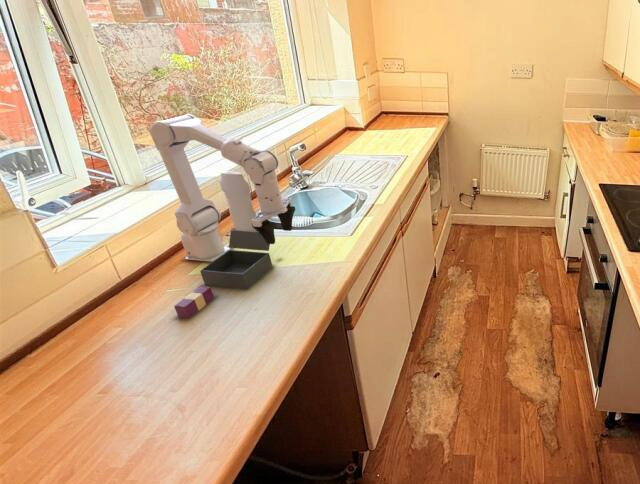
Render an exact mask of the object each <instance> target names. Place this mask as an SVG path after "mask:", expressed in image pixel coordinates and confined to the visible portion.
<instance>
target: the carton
mask: <svg viewBox="0 0 640 484" xmlns="http://www.w3.org/2000/svg"><path fill="white" fill-rule="evenodd" d="M273 267H274V266H273V262H272V259H271V255H270V252H264V251H263V252H262V251H250V250H249V251H248V250H239V249H238V250H235V249H230V250H229V251H227V252H226V253H224V254H223V255H221V256H220V257H219V258H217V259H216V260H214V261H213V262H209V264H207V265H206V266H204V267H203V268H201V269H200V270H199V272H200V275H201V277H202V281H203V283H204V286H209V287H222V288H232V289H233V288H234V289H243V290H244V289H245V290H248V289H249V288H250V287H252V286H253V285H254V284H255V283H256V282H258V280H260V278H262V277H263V276H264V275H265V274H267V272H269V271H270V270H271V269H272V268H273Z"/></svg>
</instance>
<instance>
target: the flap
mask: <svg viewBox="0 0 640 484" xmlns="http://www.w3.org/2000/svg"><path fill="white" fill-rule="evenodd" d="M270 245H271V244H267V243H266V241H265V239H264V238H263V237H262V235H261V234H260V233H259V232H258V231H257V232H248V231H239V230H235V229H231V230H230V235H229V243H228V247H229V248H231V249H238V250H239V249H240V250H249V251H250V250H252V251H261V252H262V251H263V252H270Z"/></svg>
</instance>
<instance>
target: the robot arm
mask: <svg viewBox="0 0 640 484" xmlns="http://www.w3.org/2000/svg"><path fill="white" fill-rule="evenodd" d="M148 132H149V135H150V137H151V138H152V142H153V143H154V145H155V148H156V150H157V151H158V152H159V155H160V156H161V159H162V162H163V164H164V166H165V169H166V171H167V173H168V176H169V178H170V180H171V182H172V185H173V187H174V189H175V192H176V194H177V197H178V199H179V201H180V205H179V206H177V209H176V210H175V212H174V215H175V218H176V227H177V228H178V230H179V231H180V233H182V234H181V237H180V238H181V239H180V240H181V241H180V242H181V244H182V247H183V249H184V252H185V254H186V257H184V259H185V260H187V261H199V262H200V261H201V262H209V263H211V262H213V261H214V260H216V259H217V258H219V257H220V256H221V255H223V254H224V253H226V252H227V251H229V250H232V248H229V246H225V245H224V243H223V240H222V237H221V234H220V230H219V228H218V226H219V225H220V224H219V222H220V221H221V218H222V216H221V212H220V211H219V210H220V209H218V208H217V207H216V205H215V203H214V201H213V200H211V199H209V198H208V199H207V198H204V197H203V193H202V190H201V188H200V186H199V183H198V181H197V179H196V177H195V174H194V171H193V169H192V166H191V163H190V161H189V159H188V156H187V153H186V152H185V151H186V150H185V148H186V147H187V145H188V144H189V142H190V141H196V142H198V143H200V144H203V145H205V146H207V147H210V148H212V149H215V150H217V151H219V152H220V154H221V156H222V158H224V159H226V160H227V161H230V162H232V163H234V164H235V165H238V166H240V167H241V168H243V170H244V172H245V174H246V175H247V176H248V177H249V181H250V182H251V183H252V184H253V186H254V190H255V193H256V198H257V202H258V206H259V212H258V213H256V215H257V216H256V217H255V218H254V219H253V220H251V221H252V227H253V228H254V229H256V230H257V232H259V233H260V234H261V235H262V237H263V238H264V239H265V241H266V243H267V244H270V245H275V244H276V237H275V225H276V223H275V222H270V221H268V220H270V219H271V218H273V217H275V216H277V218H278V219H279V222H280V225H281V228H282V229H283V231H287V232H291V231H292V229H293V227H292V226H293V218H294V214H295V212H296V207H295V206H294V205H293V200H292V199H293V198H291V197H285V198H282V193H281V190H280V186H279V181H278V177H277V173H276V172H277V171H276V170H277V169H278V167H279V160H278V157H277V156H276V155H275V154H274V153H273V152H271V151H270V150H260V149H259V150H258V149H256V148H254V147H252V146H249V145H247V144H246V143H244V142H242V140H240V139H234V138H233V139H227V138H225V137H223V135H220V134H218V133H217V132H215V131H214V130H212V129H211V128H209V127H207V126H205V124H204V122H203V120H202V119H201V118H198V117H196V116H195V115H194V114H193V115H192V114H190V113H186V114H183V115H181V116H180V115H179V116H176V117H172V118H168V119H164V120H158V121H154V122H153V123H152V124H151V125H150V126H149V129H148Z"/></svg>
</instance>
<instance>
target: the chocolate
mask: <svg viewBox="0 0 640 484" xmlns="http://www.w3.org/2000/svg"><path fill="white" fill-rule="evenodd" d="M214 299H215V295H214V293H213V290H212V286H206V285H200V286H199V287H197V288H196V289H194V290H192V292H190V293H188V295H186V296H185V297H184V298H183V299H181V300H180V301H178V302H176V304H174V305H173V307H174V310H175V312H176V314H177V317H178V318H182V319H183V318H184V319H191V318H192V317H193V316H194V315H195V314H196V313H198V312H199V311H201V310H202V309H203V308H204V307H206V306H207V305H208V304H209V303H210V302H211V301H213V300H214Z"/></svg>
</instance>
